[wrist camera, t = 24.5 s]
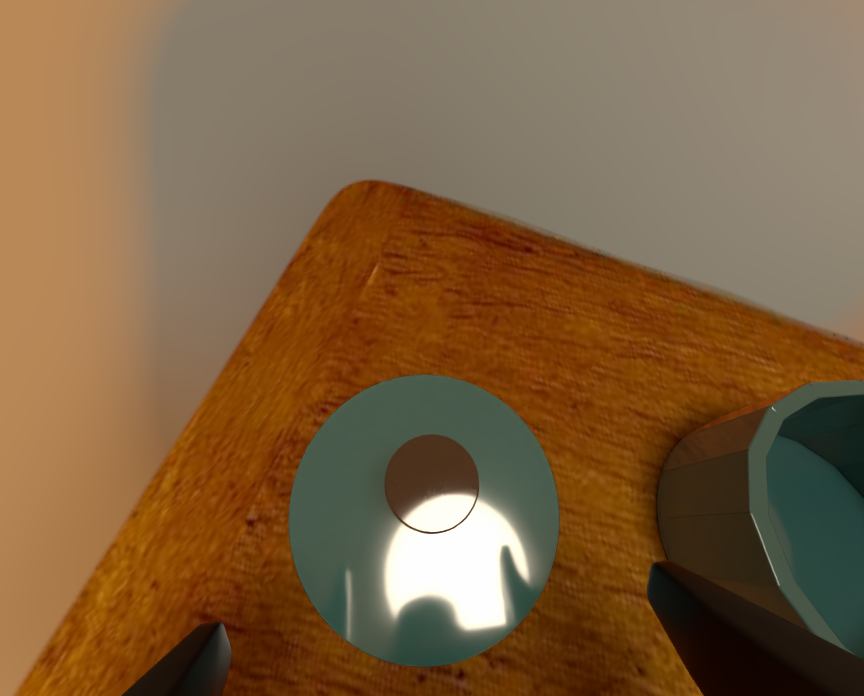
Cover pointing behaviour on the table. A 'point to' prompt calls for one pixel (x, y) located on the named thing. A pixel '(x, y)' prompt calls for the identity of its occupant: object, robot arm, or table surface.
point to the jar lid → (424, 520)
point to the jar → (777, 507)
